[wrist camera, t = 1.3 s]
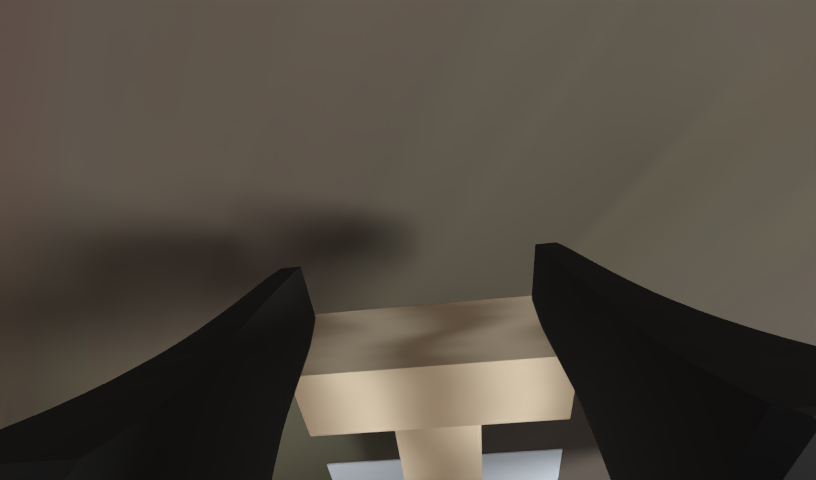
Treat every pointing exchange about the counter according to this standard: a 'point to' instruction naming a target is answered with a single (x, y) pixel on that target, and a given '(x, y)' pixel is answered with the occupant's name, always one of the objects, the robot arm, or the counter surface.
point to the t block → (432, 379)
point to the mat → (501, 472)
